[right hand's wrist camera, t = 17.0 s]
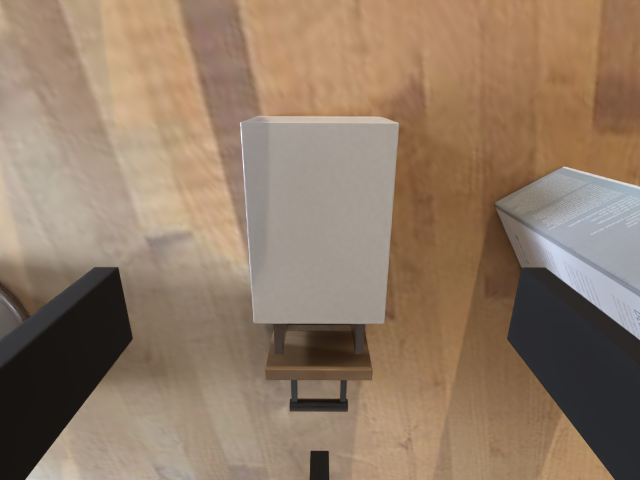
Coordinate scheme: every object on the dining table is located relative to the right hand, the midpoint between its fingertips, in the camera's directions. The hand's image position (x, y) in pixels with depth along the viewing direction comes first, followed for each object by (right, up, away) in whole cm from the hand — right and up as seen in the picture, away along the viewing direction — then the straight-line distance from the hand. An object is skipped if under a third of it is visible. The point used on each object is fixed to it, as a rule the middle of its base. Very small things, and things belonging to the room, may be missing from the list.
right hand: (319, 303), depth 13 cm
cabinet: (0, +6, +25) cm, 26 cm away
